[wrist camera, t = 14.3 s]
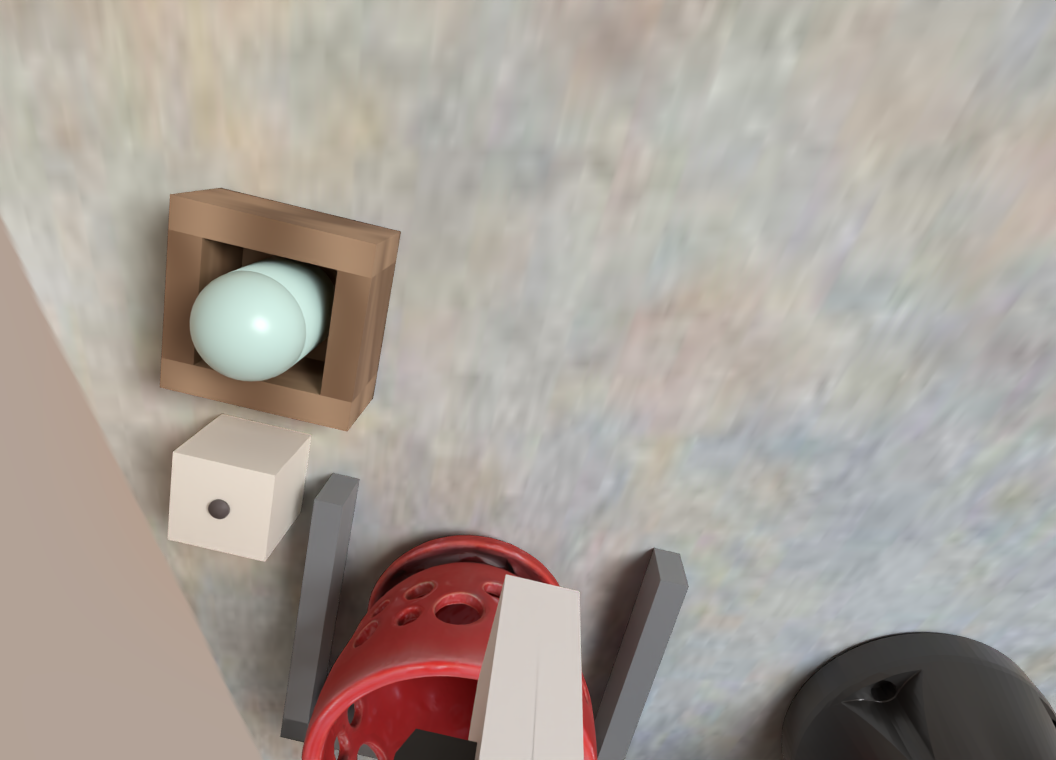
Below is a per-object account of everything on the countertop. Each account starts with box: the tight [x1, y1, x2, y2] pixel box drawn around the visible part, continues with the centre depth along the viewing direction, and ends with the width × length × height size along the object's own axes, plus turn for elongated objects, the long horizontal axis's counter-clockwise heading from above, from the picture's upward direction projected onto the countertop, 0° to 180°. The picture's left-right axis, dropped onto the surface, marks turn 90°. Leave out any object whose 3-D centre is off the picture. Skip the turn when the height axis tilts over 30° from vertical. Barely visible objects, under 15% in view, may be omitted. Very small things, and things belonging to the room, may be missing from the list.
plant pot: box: [302, 535, 597, 760], centre depth 35 cm, size 13×13×12 cm
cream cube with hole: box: [168, 414, 311, 562], centre depth 36 cm, size 5×5×5 cm
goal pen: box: [280, 473, 689, 760], centre depth 40 cm, size 20×16×3 cm
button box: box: [160, 188, 401, 431], centre depth 33 cm, size 9×9×4 cm
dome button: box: [190, 255, 335, 381], centre depth 31 cm, size 5×5×7 cm
